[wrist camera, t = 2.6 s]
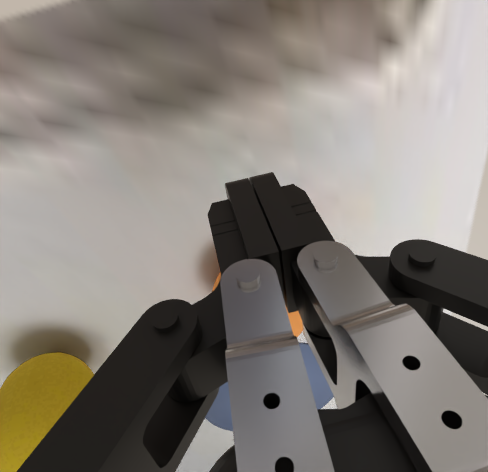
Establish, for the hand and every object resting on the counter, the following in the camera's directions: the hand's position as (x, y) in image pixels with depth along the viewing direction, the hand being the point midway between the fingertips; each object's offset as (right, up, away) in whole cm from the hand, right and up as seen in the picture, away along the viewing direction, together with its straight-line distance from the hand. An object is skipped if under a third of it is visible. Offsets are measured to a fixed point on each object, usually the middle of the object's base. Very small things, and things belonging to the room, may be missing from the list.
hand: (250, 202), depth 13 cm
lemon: (-12, -8, +13) cm, 20 cm away
